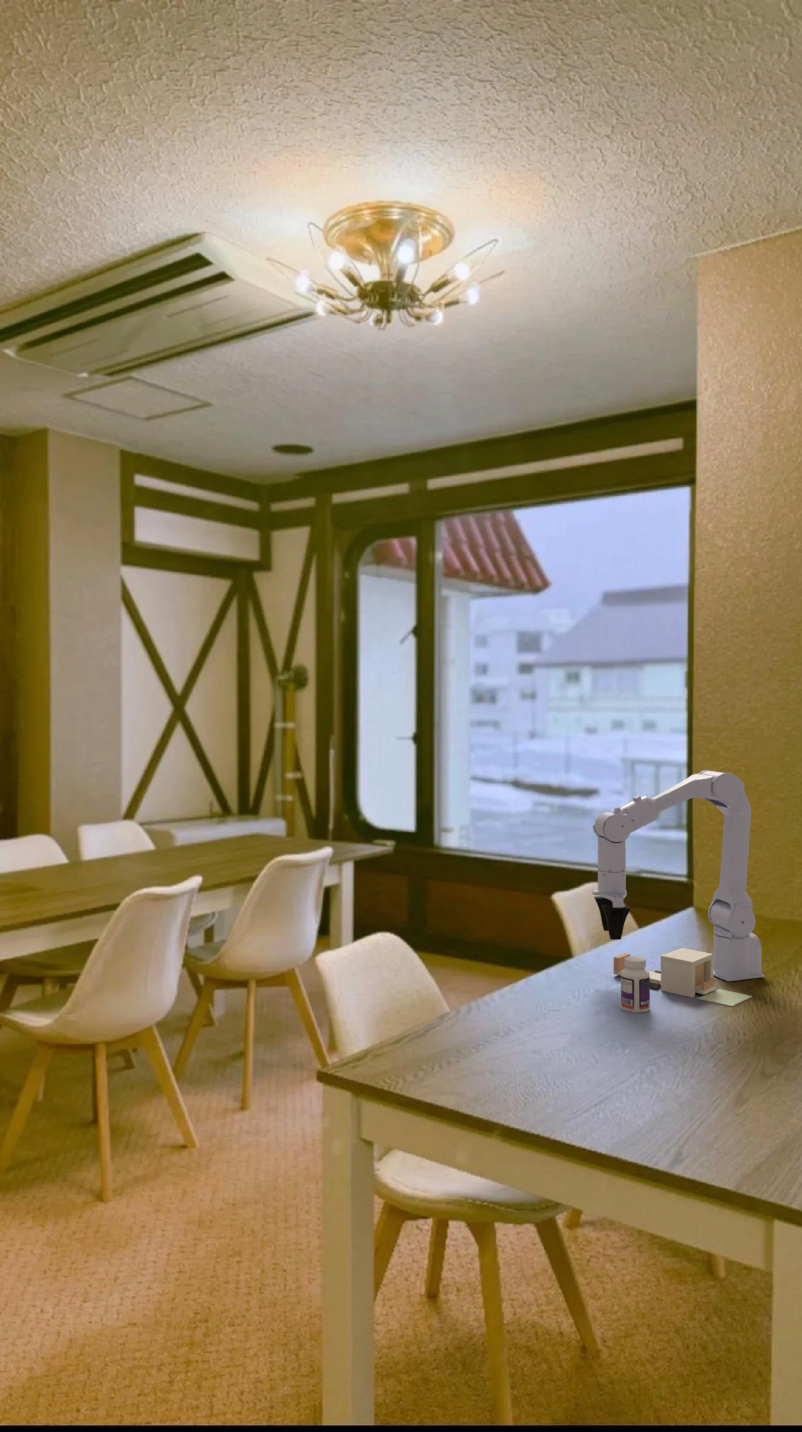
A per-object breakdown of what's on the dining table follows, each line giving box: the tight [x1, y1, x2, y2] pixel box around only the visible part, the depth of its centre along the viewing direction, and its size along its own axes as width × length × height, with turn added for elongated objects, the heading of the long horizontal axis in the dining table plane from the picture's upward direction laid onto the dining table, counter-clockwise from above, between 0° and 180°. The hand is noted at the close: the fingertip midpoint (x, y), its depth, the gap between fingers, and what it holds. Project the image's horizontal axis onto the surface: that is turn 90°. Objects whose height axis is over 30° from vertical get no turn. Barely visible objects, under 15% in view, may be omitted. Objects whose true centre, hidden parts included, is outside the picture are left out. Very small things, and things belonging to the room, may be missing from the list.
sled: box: [613, 952, 717, 996], centre depth 199 cm, size 5×21×5 cm, turn 45°
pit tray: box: [650, 969, 661, 990], centre depth 200 cm, size 9×5×1 cm, turn 135°
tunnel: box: [660, 947, 714, 998], centre depth 195 cm, size 9×7×7 cm
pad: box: [698, 988, 753, 1008], centre depth 189 cm, size 9×7×1 cm
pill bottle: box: [620, 955, 651, 1014], centre depth 183 cm, size 5×5×10 cm
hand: (612, 934), depth 200 cm, fingers open, 7 cm apart
